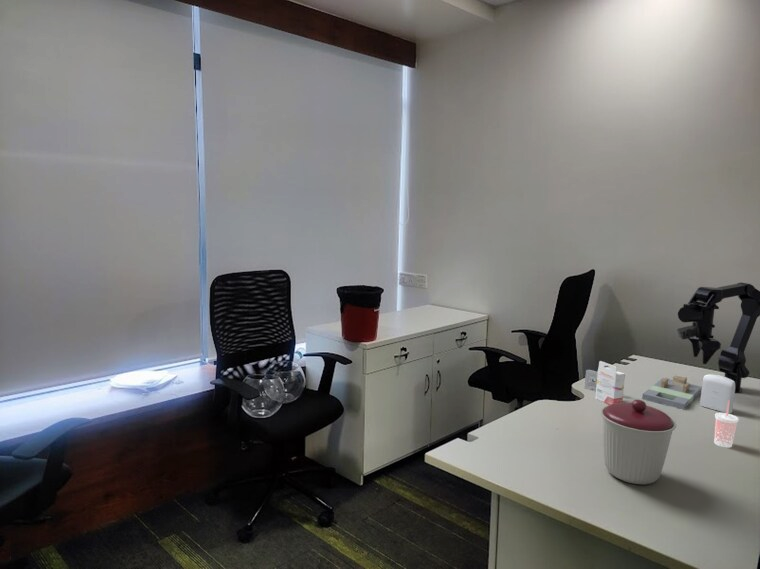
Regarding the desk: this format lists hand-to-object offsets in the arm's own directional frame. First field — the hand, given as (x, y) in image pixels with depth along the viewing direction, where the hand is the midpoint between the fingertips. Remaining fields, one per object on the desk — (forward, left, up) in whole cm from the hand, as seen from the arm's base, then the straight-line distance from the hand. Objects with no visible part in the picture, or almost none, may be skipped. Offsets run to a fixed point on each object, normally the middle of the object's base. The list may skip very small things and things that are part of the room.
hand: (699, 360), depth 205 cm
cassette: (+26, -27, -14) cm, 40 cm away
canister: (+84, +3, -14) cm, 85 cm away
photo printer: (+13, +9, -14) cm, 21 cm away
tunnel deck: (+9, -6, -13) cm, 17 cm away
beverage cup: (+44, +17, -14) cm, 49 cm away
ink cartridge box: (+34, -21, -14) cm, 42 cm away
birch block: (0, -6, -11) cm, 13 cm away
